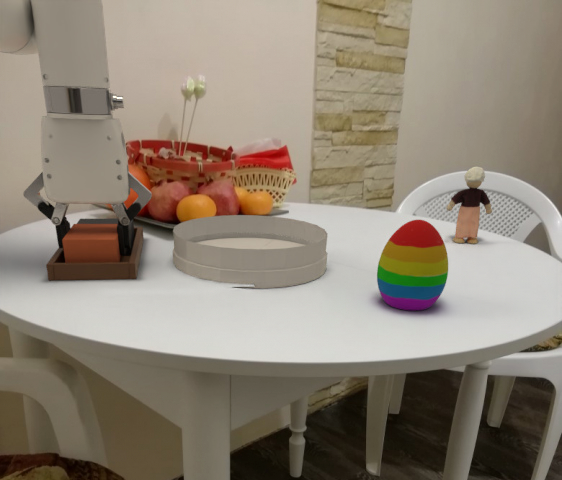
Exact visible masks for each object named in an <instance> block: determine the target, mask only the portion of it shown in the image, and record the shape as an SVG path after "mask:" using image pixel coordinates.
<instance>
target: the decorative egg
mask: <svg viewBox="0 0 562 480" xmlns="http://www.w3.org/2000/svg"><path fill="white" fill-rule="evenodd" d="M376 271H377V272H376V283H377V288H378V291H379V293H380V296H381V298H382V299H383V301H384V303H385V304H387V305H388V306H390V307H392V308H395V309H398V310H402V311H411V312H412V311H415V312H416V311H424V310H426V309H429V308H431V307H432V306H433V305H434V304H435V303H436V302H437V301H438V300H439V298H440V297H441V295H442V293H443V292H444V289H445V287H446V284H447V280H448V275H449V257H448V251H447V247H446V244H445V241H444V240H443V237H442V236H441V233H440V232H439V231H438V230H437V228H436V227H435V226H434V225H433V224H431V223H430V222H428V221H427V220H425V219H413V220H409V221H408V222H406V223H404V224H402V225H401V226H400V227H399V228H398V229H397V230H395V232H393V234H392V235H391V236H390V237H389V239H388V240H387V242H386V243H385V245H384V246H383V249H382V251H381V254H380V256H379V259H378V263H377V269H376Z"/></svg>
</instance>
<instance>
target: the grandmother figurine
mask: <svg viewBox="0 0 562 480" xmlns="http://www.w3.org/2000/svg"><path fill="white" fill-rule="evenodd" d="M485 178H486V174H485V170H484V168H483V167H480V166H473V167H471V168H469V169H468V170H467V172H465V174H464V181H465V184H466V186H467V188H465V189H461V190H459V191H457V192H456V193H455V194H454V195H453V196H452V197H451V198H450V201H449V203H448V205H446V210H447V211H448V212H451V211H452V210H453V208H454V207H455V206H456V205H458V204H460V206H459V209H458V214H457V218H456V219H457V220H456V224H455V232H454V233H455V234H454V237H453V238H452V242H453V243H456V244H465V242H466V243H467V244H471V245H477V244H478V242H479V240H478V234H479V227H480V217H481V204H482V205H483V206H484V209H485V213H486V214H487V215H490V214H492V213H493V209H492V204H491V200H490V198H489V196H488V194H487V193H486V191H484V190H483V189H480V188H479V187H481V185H482V183H483V182H485ZM465 239H466V241H465Z"/></svg>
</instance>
